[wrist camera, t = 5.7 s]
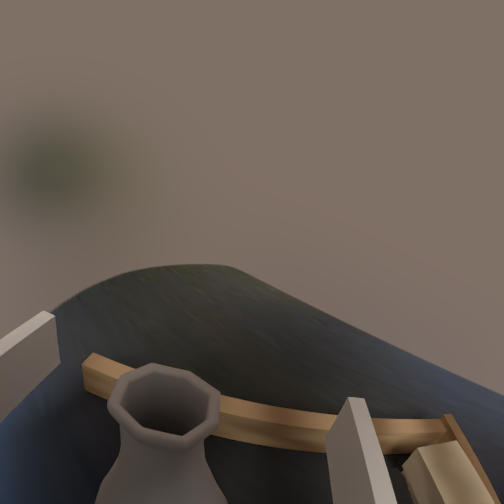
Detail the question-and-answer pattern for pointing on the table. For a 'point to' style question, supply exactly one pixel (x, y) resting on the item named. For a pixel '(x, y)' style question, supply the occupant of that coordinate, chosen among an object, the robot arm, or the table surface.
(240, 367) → the table surface
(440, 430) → the corner fence
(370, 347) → the table surface
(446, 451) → the offcut top
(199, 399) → the flask
